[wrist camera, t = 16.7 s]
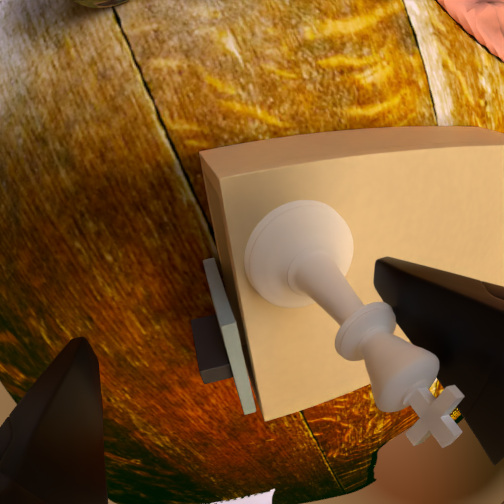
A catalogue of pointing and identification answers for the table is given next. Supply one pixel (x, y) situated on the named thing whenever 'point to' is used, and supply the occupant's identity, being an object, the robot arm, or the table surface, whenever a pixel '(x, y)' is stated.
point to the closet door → (221, 341)
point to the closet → (362, 229)
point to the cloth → (480, 21)
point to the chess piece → (347, 311)
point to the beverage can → (100, 3)
